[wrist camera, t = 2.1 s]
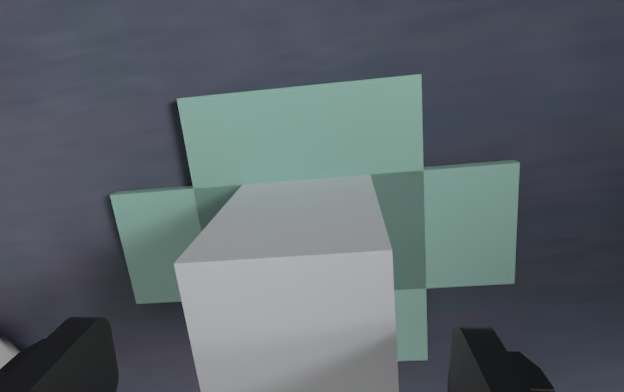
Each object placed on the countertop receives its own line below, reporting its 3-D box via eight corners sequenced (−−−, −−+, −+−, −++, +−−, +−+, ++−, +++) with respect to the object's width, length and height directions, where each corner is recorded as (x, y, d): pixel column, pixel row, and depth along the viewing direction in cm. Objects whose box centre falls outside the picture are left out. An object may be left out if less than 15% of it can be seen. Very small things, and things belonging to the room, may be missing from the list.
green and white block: (514, 64, 15) (685, 56, 8) (503, 345, 18) (615, 530, 11) (99, 106, 17) (-99, 133, 9) (160, 359, 20) (51, 531, 12)
